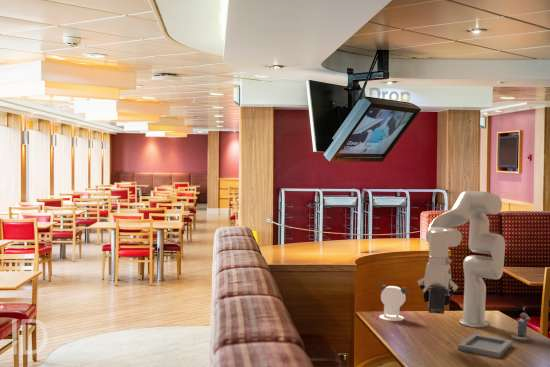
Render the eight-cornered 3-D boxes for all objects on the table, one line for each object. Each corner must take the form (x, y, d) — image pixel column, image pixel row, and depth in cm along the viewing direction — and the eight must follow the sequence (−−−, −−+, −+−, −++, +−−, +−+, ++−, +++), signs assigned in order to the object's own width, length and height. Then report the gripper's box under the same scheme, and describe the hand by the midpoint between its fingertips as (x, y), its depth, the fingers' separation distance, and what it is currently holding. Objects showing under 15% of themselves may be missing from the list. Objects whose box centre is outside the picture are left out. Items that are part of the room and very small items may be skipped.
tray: (473, 338, 280) (473, 333, 280) (511, 346, 271) (512, 340, 271) (457, 350, 263) (458, 344, 263) (498, 358, 254) (499, 352, 254)
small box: (445, 314, 263) (446, 288, 262) (428, 313, 264) (429, 287, 264) (444, 307, 273) (444, 282, 273) (427, 306, 275) (428, 281, 274)
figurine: (534, 339, 281) (535, 311, 281) (529, 344, 274) (530, 315, 274) (514, 335, 286) (515, 308, 286) (508, 340, 279) (509, 312, 279)
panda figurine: (407, 316, 314) (408, 285, 313) (402, 322, 303) (404, 290, 302) (382, 313, 318) (383, 282, 317) (377, 319, 307) (378, 287, 306)
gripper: (462, 261, 266) (460, 304, 267) (421, 256, 275) (419, 298, 276) (456, 264, 259) (454, 308, 261) (414, 259, 269) (412, 301, 270)
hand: (436, 303), depth 269 cm, fingers closed on small box, 8 cm apart
